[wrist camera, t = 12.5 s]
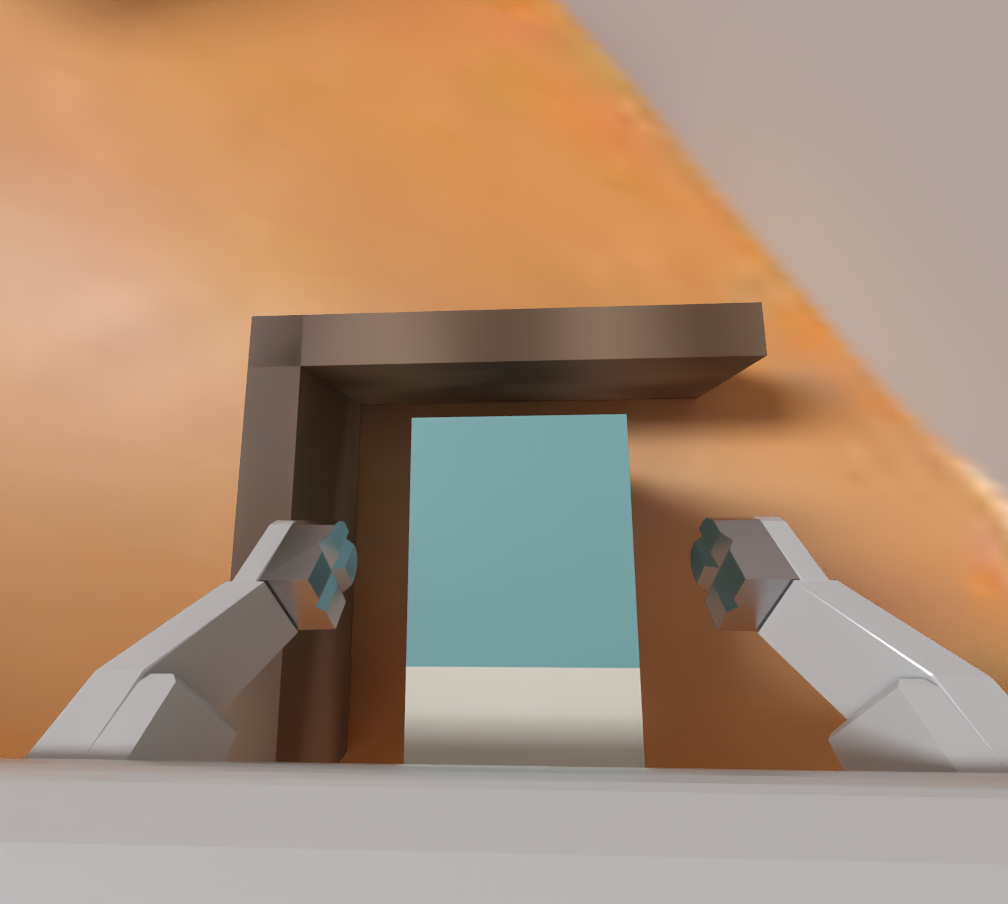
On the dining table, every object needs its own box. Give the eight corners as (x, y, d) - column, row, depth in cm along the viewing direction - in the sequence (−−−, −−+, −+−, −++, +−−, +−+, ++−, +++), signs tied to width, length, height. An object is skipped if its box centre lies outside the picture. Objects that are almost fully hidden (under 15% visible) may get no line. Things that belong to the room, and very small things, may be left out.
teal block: (466, 624, 15) (403, 768, 7) (467, 463, 15) (411, 417, 7) (576, 625, 14) (644, 771, 6) (570, 461, 15) (626, 414, 7)
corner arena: (303, 750, 14) (207, 860, 10) (324, 367, 16) (252, 316, 12) (723, 757, 14) (820, 876, 9) (693, 359, 16) (761, 302, 11)
